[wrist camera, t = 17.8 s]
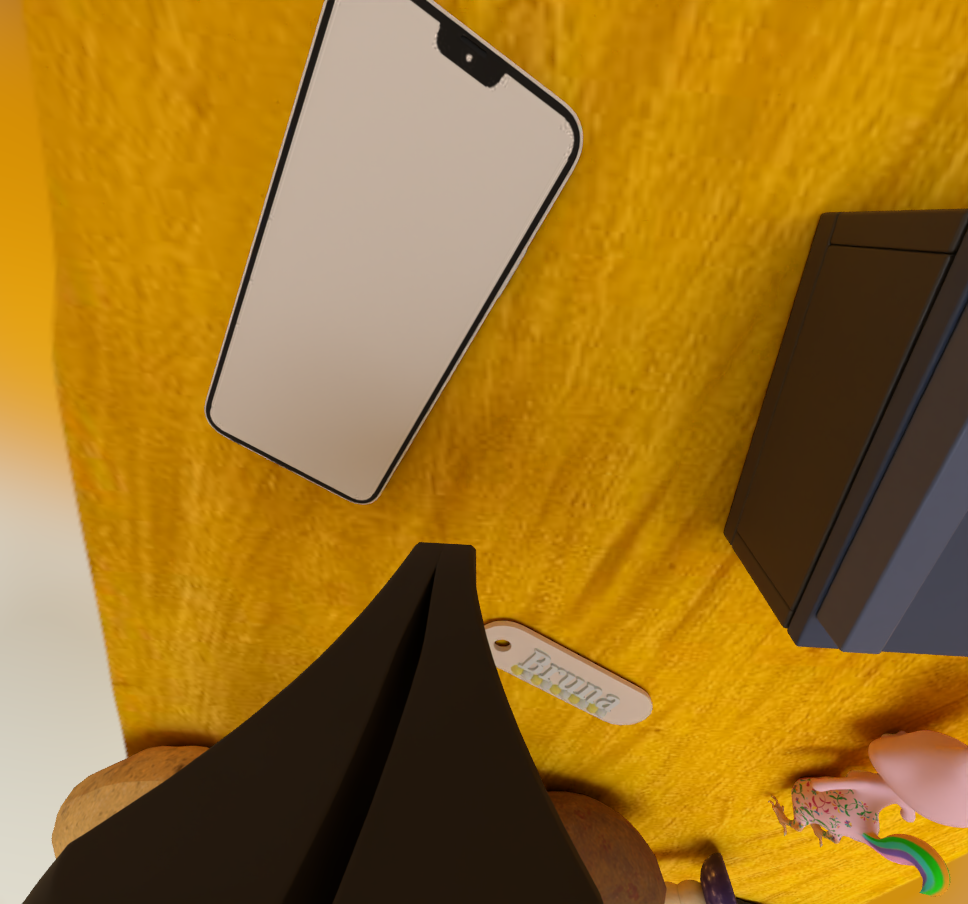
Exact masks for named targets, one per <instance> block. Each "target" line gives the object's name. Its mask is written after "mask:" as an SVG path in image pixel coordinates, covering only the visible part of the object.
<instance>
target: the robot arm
mask: <svg viewBox="0 0 968 904" xmlns="http://www.w3.org/2000/svg"><path fill="white" fill-rule="evenodd" d="M22 904H604V903H603V900H602V897H601V894H600V892H599V890H598V888H597V886H596V885H595V883H594V881H593V879H592V877H591V875H590V874H589V872H588V870H587V868H586V866H585V864H584V863H583V861H582V859H581V857H580V855H579V853H578V851H577V849H576V848H575V846H574V844H573V842H572V840H571V838H570V836H569V834H568V832H567V830H566V828H565V827H564V825H563V823H562V821H561V819H560V817H559V815H558V812H557V810H556V808H555V806H554V804H553V802H552V800H551V798H550V796H549V794H548V792H547V790H546V788H545V786H544V784H543V782H542V780H541V777H540V775H539V773H538V771H537V768H536V766H535V764H534V762H533V759H532V757H531V755H530V753H529V751H528V748H527V746H526V744H525V742H524V739H523V737H522V735H521V733H520V730H519V728H518V725H517V723H516V720H515V718H514V715H513V713H512V710H511V708H510V705H509V703H508V700H507V697H506V694H505V692H504V689H503V686H502V683H501V681H500V678H499V675H498V672H497V669H496V666H495V663H494V659H493V656H492V653H491V649H490V646H489V642H488V639H487V635H486V631H485V628H484V624H483V619H482V615H481V610H480V605H479V601H478V595H477V589H476V549H475V548H474V547H473V546H472V545H461V544H442V543H424V542H419V543H418V544H417V545H415V547H414V548H413V549H412V551H411V552H410V554H409V555H408V556H407V558H406V559H405V560H404V562H403V563H402V564H401V566H400V567H399V568H398V570H397V571H396V572H395V573H394V575H393V576H392V577H391V578H390V580H389V581H388V582H387V584H386V585H385V586H384V587H383V588H382V590H381V591H380V592H379V593H378V594H377V595H376V597H375V598H374V599H373V600H372V601H371V603H370V604H369V605H368V606H367V607H366V608H365V610H364V611H363V612H362V613H361V614H360V615H359V616H358V617H357V618H356V619H355V620H354V622H353V623H352V624H351V625H350V626H349V627H348V628H347V629H346V630H345V631H344V632H343V633H342V634H341V635H340V636H339V638H338V639H337V640H336V641H335V642H334V643H333V644H332V645H331V646H330V647H329V648H328V649H327V650H326V651H325V652H324V653H323V654H322V655H321V656H320V657H319V658H318V659H316V660H315V661H314V662H313V663H312V664H311V665H310V666H309V667H308V668H307V669H306V670H305V671H304V672H303V673H301V674H300V675H299V676H298V677H297V678H296V679H295V680H294V681H293V682H292V683H290V684H289V685H288V686H287V687H286V688H285V689H283V690H282V691H281V692H280V693H279V694H278V695H276V696H275V697H274V698H273V699H272V700H270V701H269V702H268V703H267V704H266V705H265V706H263V707H262V708H261V709H260V710H259V711H257V712H256V713H255V714H254V715H252V716H251V717H250V718H249V719H248V720H246V721H245V722H244V723H242V724H241V725H240V726H239V727H237V728H236V729H235V730H233V731H232V732H231V733H229V734H228V735H227V736H225V737H224V738H223V739H221V740H220V741H219V742H217V743H216V744H215V745H213V746H212V747H211V748H209V749H208V750H207V751H205V752H204V753H202V754H201V755H200V756H198V757H197V758H196V759H194V760H193V761H192V762H190V763H189V764H188V765H186V766H185V767H184V768H182V769H181V770H180V771H178V772H177V773H175V774H174V775H172V776H171V777H170V778H168V779H167V780H165V781H164V782H162V783H161V784H159V785H158V786H156V787H155V788H153V789H152V790H150V791H149V792H147V793H146V794H144V795H143V796H141V797H140V798H138V799H137V800H135V801H134V802H132V803H131V804H129V805H128V806H126V807H125V808H123V809H122V810H120V811H119V812H117V813H115V814H114V815H112V816H111V817H109V818H108V819H106V820H105V821H103V822H102V823H100V824H99V825H97V826H96V827H94V828H93V829H91V830H90V831H88V832H87V833H85V834H83V835H82V836H80V837H78V838H77V839H75V840H74V841H72V842H70V843H69V844H68V845H67V846H66V847H65V849H64V850H63V851H62V852H61V854H60V855H59V856H58V857H57V859H56V860H55V861H54V863H53V864H52V865H51V866H50V867H49V869H48V870H47V871H46V873H45V874H44V875H43V876H42V878H41V879H40V880H39V882H38V883H37V884H36V885H35V887H34V888H33V890H32V891H31V892H30V894H29V895H28V896H27V898H26V899H25V901H24V902H23V903H22Z"/></svg>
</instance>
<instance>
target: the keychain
mask: <svg viewBox="0 0 968 904" xmlns="http://www.w3.org/2000/svg"><path fill="white" fill-rule="evenodd" d="M484 628H485V631H486V635H487V639H488V642H489V646H490V649H491V653H492V656H493V659H494V663H495V666H496V667H498V668H500V669H502V670H504V671H506V672H508V673H510V674H512V675H514V676H516V677H518V678H520V679H522V680H524V681H526V682H528V683H530V684H532V685H534V686H536V687H538V688H540V689H542V690H544V691H546V692H548V693H550V694H551V695H553V696H555V697H557V698H559V699H561V700H563V701H565V702H567V703H569V704H571V705H573V706H575V707H577V708H579V709H581V710H583V711H585V712H587V713H589V714H591V715H593V716H595V717H597V718H599V719H601V720H603V721H605V722H608V723H611V724H617V725H630V724H634V723H638V722H640V721H642V720H644V719H646V718H647V717H648V716H649V715H650V713H651V711H652V702H651V698H650V696H649V695H648V693H647V692H645V691H644V690H643V689H641V688H639V687H637V686H636V685H634V684H632V683H630V682H628V681H626V680H624V679H622V678H621V677H619V676H617V675H615V674H613V673H611V672H609V671H607V670H606V669H604V668H602V667H600V666H598V665H596V664H594V663H592V662H591V661H589V660H587V659H585V658H583V657H581V656H579V655H577V654H576V653H574V652H572V651H570V650H568V649H566V648H564V647H562V646H560V645H559V644H557V643H555V642H553V641H551V640H549V639H547V638H545V637H544V636H542V635H540V634H538V633H536V632H534V631H532V630H530V629H529V628H527V627H525V626H523V625H520V624H518V623H515V622H511V621H494V622H491V623H488V624H486V625H485V626H484ZM501 639H503V640H507V641H509V642H510V643H511V644H510V645H509V646H506V647H501V646H498V645H496V644H495V643H494V642H495V641H497V640H501Z"/></svg>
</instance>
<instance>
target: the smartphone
mask: <svg viewBox="0 0 968 904" xmlns="http://www.w3.org/2000/svg"><path fill="white" fill-rule="evenodd" d="M582 145H583V132H582V127H581V124H580V121H579V119H578V117H577V115H576V114H575V112H574V111H573V110H572V109H571V108H570V107H569V106H568V105H567V104H566V103H565V102H564V101H563V100H561V99H560V98H559V97H557V96H556V95H555V94H553V93H552V92H551V91H550V90H548V89H547V88H546V87H544V86H543V85H542V84H541V83H539V82H538V81H537V80H535V79H534V78H533V77H531V76H530V75H529V74H528V73H526V72H525V71H524V70H522V69H521V68H520V67H518V66H517V65H516V64H515V63H513V62H512V61H511V60H509V59H508V58H507V57H505V56H504V55H503V54H502V53H500V52H499V51H498V50H496V49H495V48H494V47H492V46H491V45H490V44H489V43H487V42H486V41H485V40H483V39H482V38H481V37H480V36H478V35H477V34H476V33H474V32H473V31H472V30H470V29H469V28H468V27H467V26H465V25H464V24H463V23H461V22H460V21H459V20H457V19H456V18H455V17H454V16H452V15H451V14H450V13H448V12H447V11H446V10H444V9H443V8H442V7H441V6H439V5H438V4H437V3H435V2H434V1H433V0H325V1H324V4H323V8H322V11H321V14H320V18H319V21H318V24H317V28H316V31H315V34H314V38H313V41H312V44H311V48H310V51H309V54H308V58H307V61H306V65H305V68H304V71H303V75H302V78H301V81H300V85H299V88H298V92H297V95H296V98H295V102H294V105H293V108H292V112H291V115H290V118H289V122H288V125H287V129H286V132H285V135H284V139H283V142H282V145H281V149H280V152H279V155H278V159H277V162H276V166H275V169H274V172H273V176H272V179H271V182H270V186H269V189H268V193H267V196H266V199H265V203H264V206H263V209H262V213H261V216H260V219H259V223H258V226H257V230H256V233H255V236H254V240H253V243H252V246H251V250H250V253H249V256H248V260H247V263H246V267H245V270H244V273H243V277H242V280H241V283H240V287H239V290H238V294H237V297H236V300H235V304H234V307H233V310H232V314H231V317H230V320H229V324H228V327H227V331H226V334H225V337H224V341H223V344H222V347H221V351H220V354H219V357H218V361H217V364H216V368H215V371H214V374H213V378H212V381H211V384H210V388H209V391H208V395H207V398H206V402H205V407H204V410H205V416H206V418H207V420H208V422H209V424H210V425H211V426H212V427H213V428H214V429H215V430H216V431H217V432H218V433H220V434H221V435H223V436H224V437H226V438H228V439H230V440H232V441H234V442H236V443H238V444H239V445H241V446H243V447H245V448H247V449H249V450H251V451H253V452H255V453H257V454H259V455H261V456H263V457H265V458H266V459H268V460H270V461H272V462H274V463H276V464H278V465H280V466H282V467H284V468H286V469H288V470H290V471H292V472H293V473H295V474H297V475H299V476H301V477H303V478H305V479H307V480H309V481H311V482H313V483H315V484H317V485H318V486H320V487H322V488H324V489H326V490H328V491H330V492H332V493H334V494H336V495H338V496H340V497H342V498H344V499H346V500H348V501H350V502H352V503H355V504H363V505H364V504H370V503H372V502H374V501H376V500H377V499H378V498H379V496H380V495H381V493H382V492H383V490H384V488H385V487H386V485H387V483H388V482H389V480H390V478H391V477H392V475H393V473H394V472H395V470H396V468H397V467H398V465H399V463H400V461H401V460H402V458H403V456H404V455H405V453H406V451H407V450H408V448H409V446H410V445H411V443H412V441H413V440H414V438H415V436H416V435H417V433H418V431H419V430H420V428H421V426H422V424H423V423H424V421H425V419H426V418H427V416H428V414H429V413H430V411H431V409H432V408H433V406H434V404H435V403H436V401H437V399H438V398H439V396H440V394H441V393H442V391H443V389H444V387H445V386H446V384H447V382H448V381H449V379H450V377H451V376H452V374H453V372H454V371H455V369H456V367H457V366H458V364H459V362H460V361H461V359H462V357H463V355H464V354H465V352H466V350H467V349H468V347H469V345H470V344H471V342H472V340H473V339H474V337H475V335H476V334H477V332H478V330H479V329H480V327H481V325H482V323H483V322H484V320H485V318H486V317H487V315H488V313H489V312H490V310H491V308H492V307H493V305H494V303H495V302H496V300H497V298H499V297H500V295H501V294H502V292H503V290H504V289H505V287H506V285H507V284H508V282H509V280H510V278H511V277H512V275H513V273H514V272H515V270H516V268H517V267H518V265H519V263H520V262H521V260H522V258H523V257H524V255H525V253H526V252H527V248H528V246H529V244H530V243H531V241H532V239H533V238H534V236H535V234H536V232H537V231H538V229H539V227H540V226H541V224H542V222H543V221H544V219H545V217H546V216H547V214H548V212H549V211H550V209H551V207H552V205H553V204H554V202H555V200H556V199H557V197H558V195H559V194H560V192H561V190H562V189H563V187H564V185H565V184H566V182H567V180H568V178H569V177H570V175H571V173H572V172H573V170H574V168H575V166H576V164H577V162H578V160H579V157H580V154H581V151H582Z"/></svg>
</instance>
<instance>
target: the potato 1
mask: <svg viewBox="0 0 968 904" xmlns="http://www.w3.org/2000/svg"><path fill="white" fill-rule="evenodd" d="M208 749H209V748H208V747H202V746H181V747H173V746H158V747H151V748H147V749H145V750H143V751H141V752H139V753H136V754H134V755H132V756H131V757H129V758H127V759H125V760H122V761H120V762H118V763H116V764H114V765H111V766H109V767H107V768H105V769H103V770H101V771H98V772H96V773H95V774H92V775H90V776H88V777H87V778H86V779H84V781H82V782H81V783H79V784H78V785H77V786H76V787H74V789H73V790H72V792H71V793H70V794H69V796H68V797H67V799H66V800H65V802H64V803H63V804H62V806H61V808H60V810H59V812H58V814H57V818H56V822H55V827H54V830H53V833H52V844H53V848H54V852H55V856H56V859H57V857H58V856H59V855H60V854H61V852H62V851H63V850H64V849H65V847H66V846H67V845H68V844H69V843H70V842H72V841H74V840H75V839H77V838H78V837H80V836H82V835H83V834H85V833H87V832H88V831H90V830H91V829H93V828H94V827H96V826H97V825H99V824H100V823H102V822H103V821H105V820H106V819H108V818H109V817H111V816H112V815H114V814H115V813H117V812H119V811H120V810H122V809H123V808H125V807H126V806H128V805H129V804H131V803H132V802H134V801H135V800H137V799H138V798H140V797H141V796H143V795H144V794H146V793H147V792H149V791H150V790H152V789H153V788H155V787H156V786H158V785H159V784H161V783H162V782H164V781H165V780H167V779H168V778H170V777H171V776H172V775H174V774H175V773H177V772H178V771H180V770H181V769H182V768H184V767H185V766H186V765H188V764H189V763H190V762H192V761H193V760H194V759H196V758H197V757H198V756H200V755H201V754H202V753H204V752H205V751H207V750H208Z"/></svg>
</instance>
